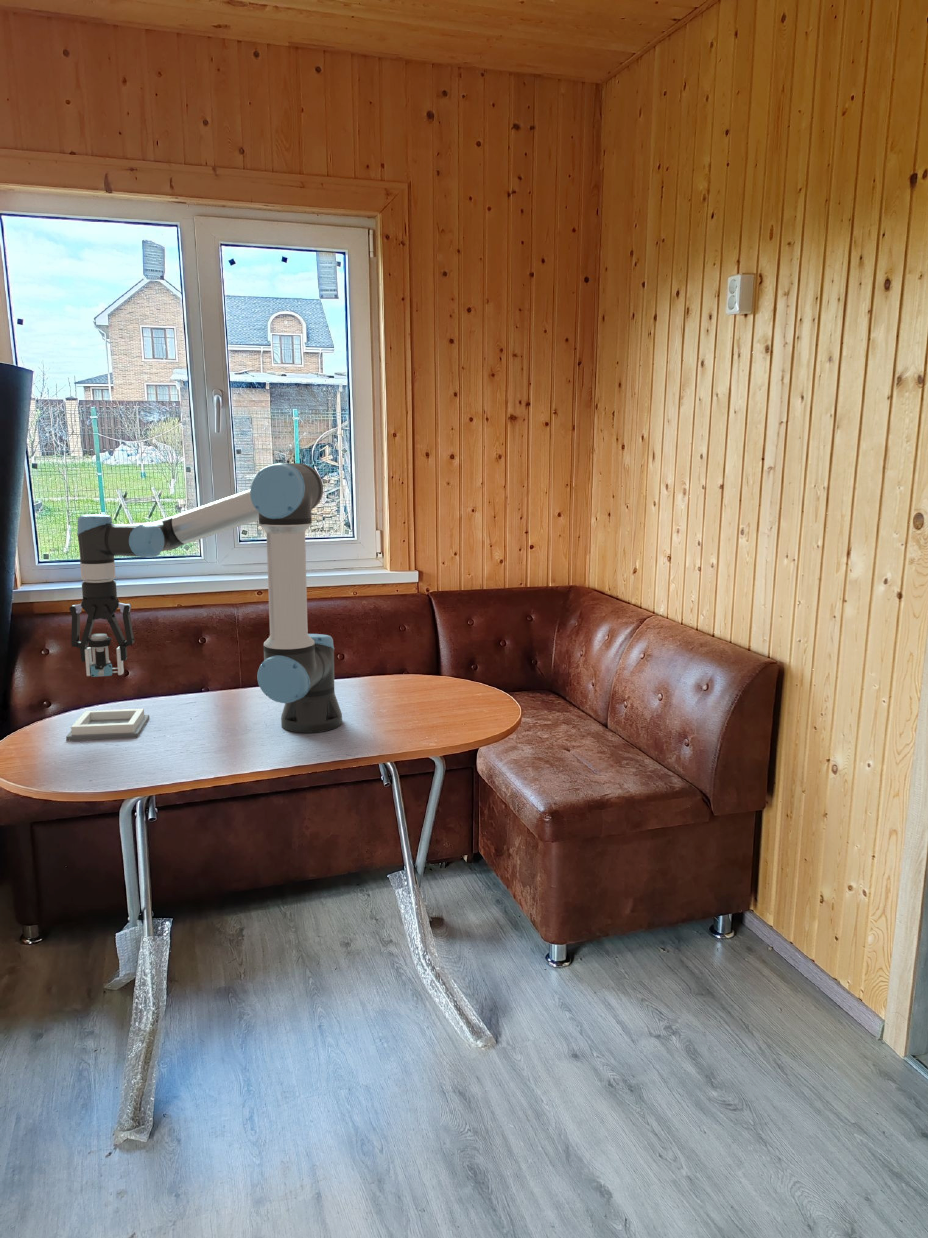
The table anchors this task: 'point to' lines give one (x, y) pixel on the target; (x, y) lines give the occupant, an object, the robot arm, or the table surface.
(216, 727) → the table surface
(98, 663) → the push button
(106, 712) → the socket plate
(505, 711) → the table surface
